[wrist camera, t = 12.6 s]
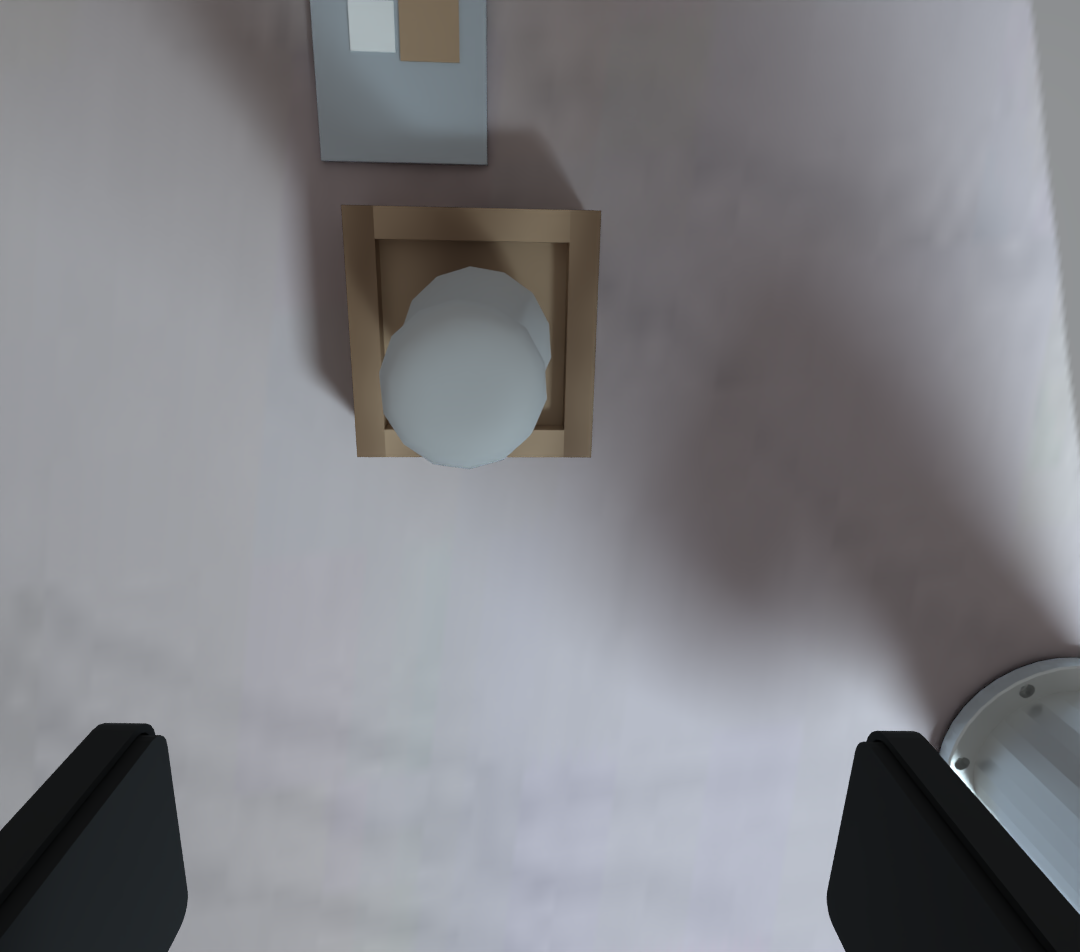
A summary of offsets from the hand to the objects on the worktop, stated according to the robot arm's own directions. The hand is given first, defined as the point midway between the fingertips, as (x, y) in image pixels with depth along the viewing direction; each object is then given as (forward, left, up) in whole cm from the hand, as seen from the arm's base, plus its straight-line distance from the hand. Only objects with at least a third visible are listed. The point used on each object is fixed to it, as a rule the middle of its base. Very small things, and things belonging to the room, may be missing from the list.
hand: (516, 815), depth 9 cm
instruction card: (+4, -16, -25) cm, 30 cm away
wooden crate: (+1, -4, -25) cm, 25 cm away
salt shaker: (+1, -4, -22) cm, 23 cm away
